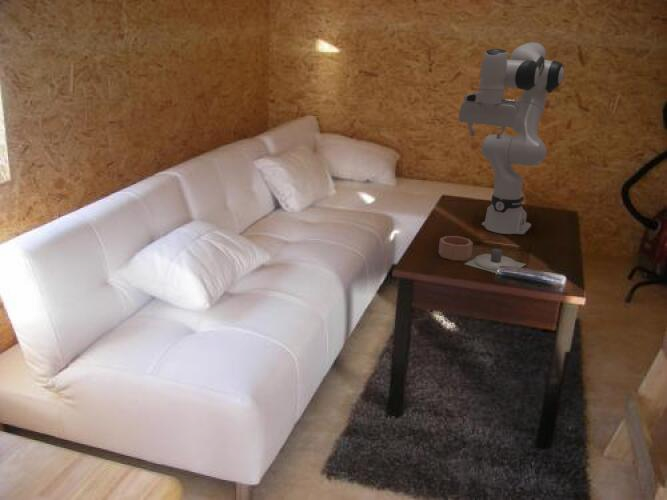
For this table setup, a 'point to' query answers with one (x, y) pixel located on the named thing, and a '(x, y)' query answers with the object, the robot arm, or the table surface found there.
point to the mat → (472, 263)
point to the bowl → (455, 248)
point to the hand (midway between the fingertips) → (485, 137)
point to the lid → (494, 260)
